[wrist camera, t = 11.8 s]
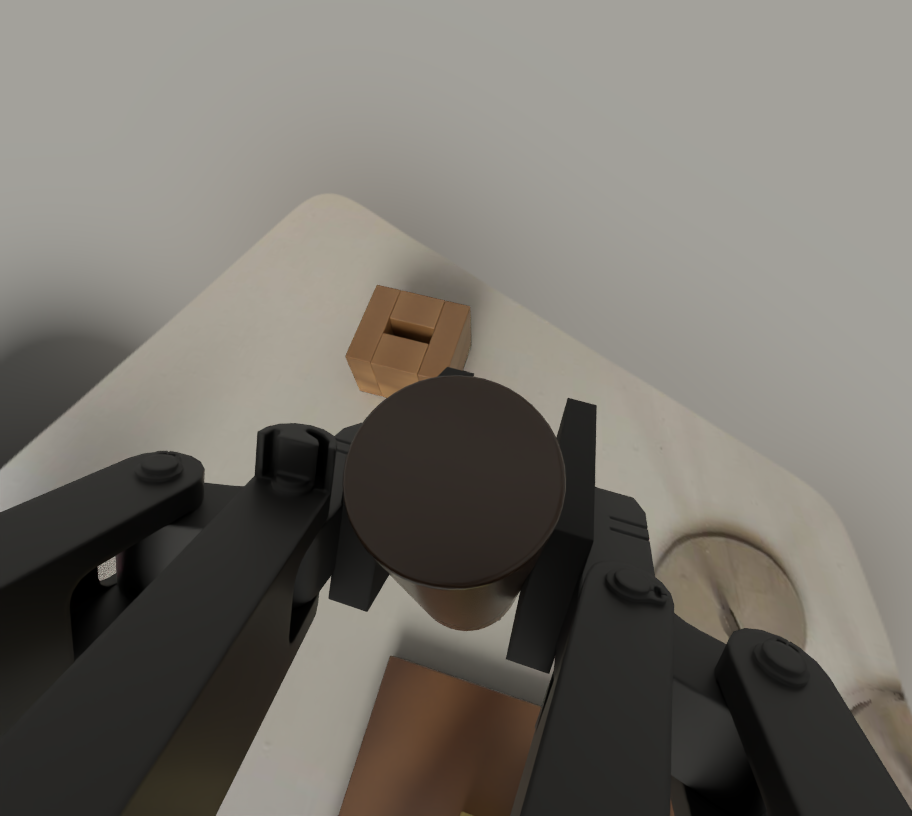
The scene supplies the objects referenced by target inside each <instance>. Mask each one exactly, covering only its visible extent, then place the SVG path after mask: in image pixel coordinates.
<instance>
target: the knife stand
mask: <svg viewBox="0 0 912 816" xmlns="http://www.w3.org/2000/svg"><path fill="white" fill-rule="evenodd" d="M470 347H471V315H470V306H466V305H462V304H458V303H453V302H449V301H445V300H441V299H437V298H432V297H428V296H424V295H419V294H415V293H411V292H406V291H401V290H398V289H393V288H389V287H385V286H380V285H377V286H376V288H375V290H374V293H373V295H372V297H371V299H370V302H369V304H368V306H367V308H366V311H365V313H364V315H363V317H362V320H361V322H360V324H359V326H358V329H357V331H356V333H355V335H354V338H353V340H352V342H351V344H350V347H349V349H348V351H347V353H346V356H345V357H346V359H347V362H348V364H349V366H350V369H351V371H352V373H353V376H354V378H355V380H356V382H357V385H358V387H359V389H360V391H364V392H368V393H372V394H375V395H379V396H383V397H386V398H388V397H389V396H391V395H392V394H393V393H395V392H397V391H399V390H400V389H402V388H404V387H406V386H408V385H411V384H413V383H416V382H418V381H422V380H425V379H429V378H433V377H437V376H438V375H439V374H440V373H441V372H442V371H443V370H444V369H445V368H446V367H450V368H454V369H458V370H462V371H463V368H464V365H465V362H466V359H467V356H468V353H469V350H470Z"/></svg>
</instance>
